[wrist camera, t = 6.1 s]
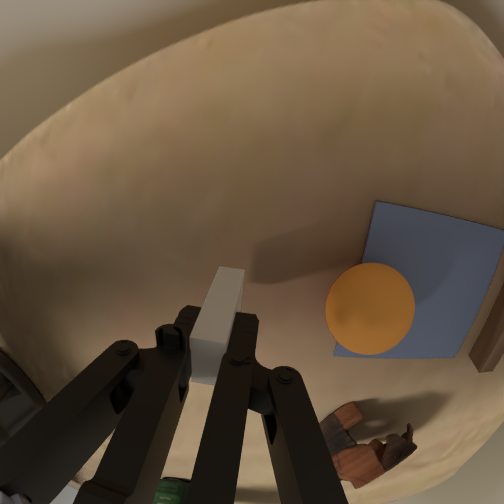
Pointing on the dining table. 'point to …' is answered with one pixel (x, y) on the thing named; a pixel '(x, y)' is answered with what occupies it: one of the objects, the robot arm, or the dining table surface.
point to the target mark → (433, 274)
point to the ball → (370, 308)
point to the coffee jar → (171, 491)
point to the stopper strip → (490, 339)
